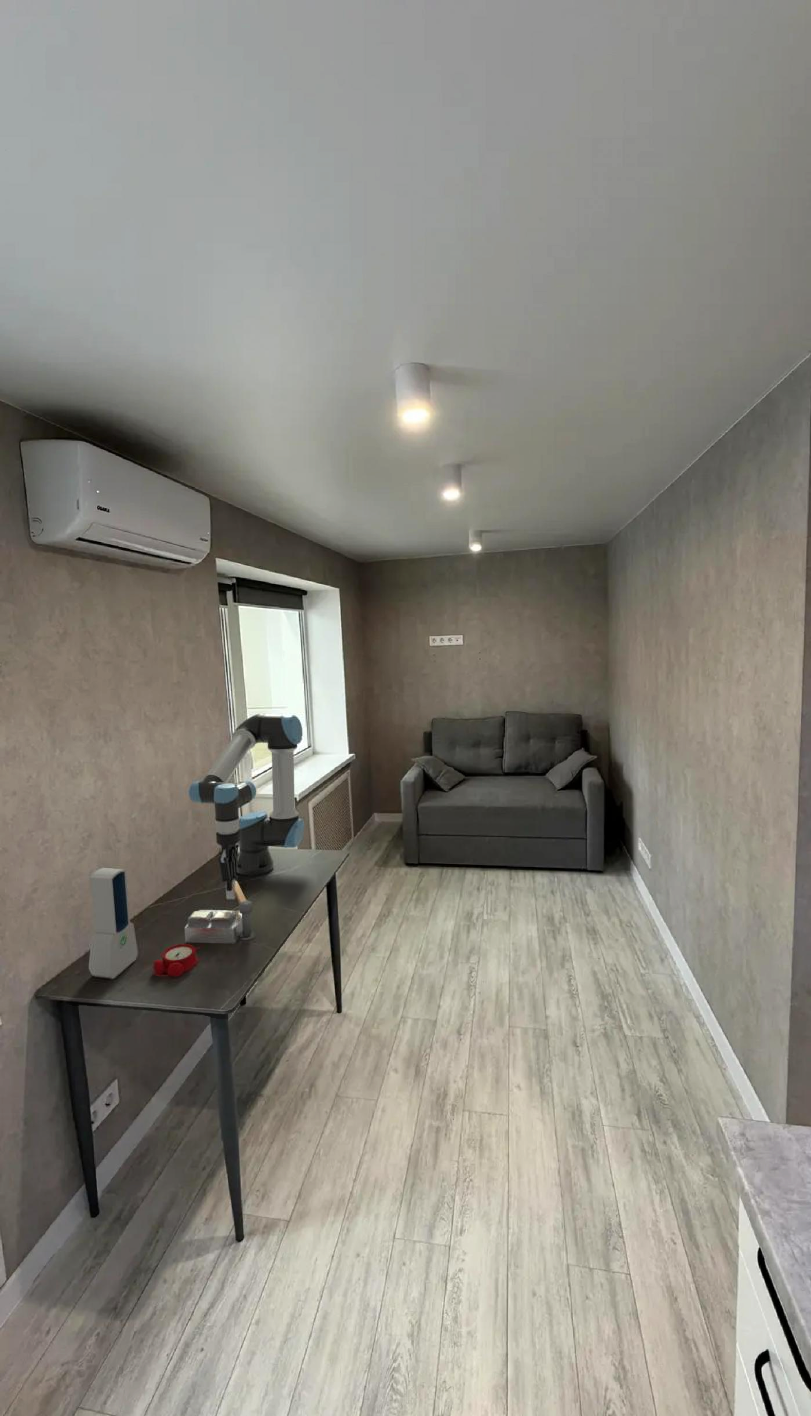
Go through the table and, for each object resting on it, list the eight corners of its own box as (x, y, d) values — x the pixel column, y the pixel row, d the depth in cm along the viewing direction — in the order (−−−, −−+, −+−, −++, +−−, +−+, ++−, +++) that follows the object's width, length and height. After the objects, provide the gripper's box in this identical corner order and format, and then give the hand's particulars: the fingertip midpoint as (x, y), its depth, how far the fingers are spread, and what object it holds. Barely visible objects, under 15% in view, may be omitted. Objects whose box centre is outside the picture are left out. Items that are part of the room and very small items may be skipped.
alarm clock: (206, 944, 184) (176, 960, 170) (205, 966, 184) (174, 983, 169) (176, 940, 187) (144, 955, 172) (175, 961, 186) (142, 977, 172)
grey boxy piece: (200, 924, 204) (199, 903, 203) (261, 925, 203) (260, 904, 202) (185, 942, 192) (184, 920, 191) (250, 944, 191) (249, 922, 190)
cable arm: (254, 936, 195) (253, 905, 193) (241, 939, 193) (240, 907, 191) (241, 908, 214) (239, 879, 213) (229, 910, 212) (228, 881, 211)
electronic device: (111, 981, 172) (103, 880, 167) (88, 978, 173) (79, 878, 169) (139, 957, 184) (132, 863, 180) (117, 955, 185) (109, 861, 181)
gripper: (223, 824, 207) (227, 889, 210) (209, 837, 194) (212, 907, 198) (245, 824, 207) (248, 890, 210) (232, 837, 194) (235, 907, 197)
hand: (231, 898), depth 204 cm, fingers closed
